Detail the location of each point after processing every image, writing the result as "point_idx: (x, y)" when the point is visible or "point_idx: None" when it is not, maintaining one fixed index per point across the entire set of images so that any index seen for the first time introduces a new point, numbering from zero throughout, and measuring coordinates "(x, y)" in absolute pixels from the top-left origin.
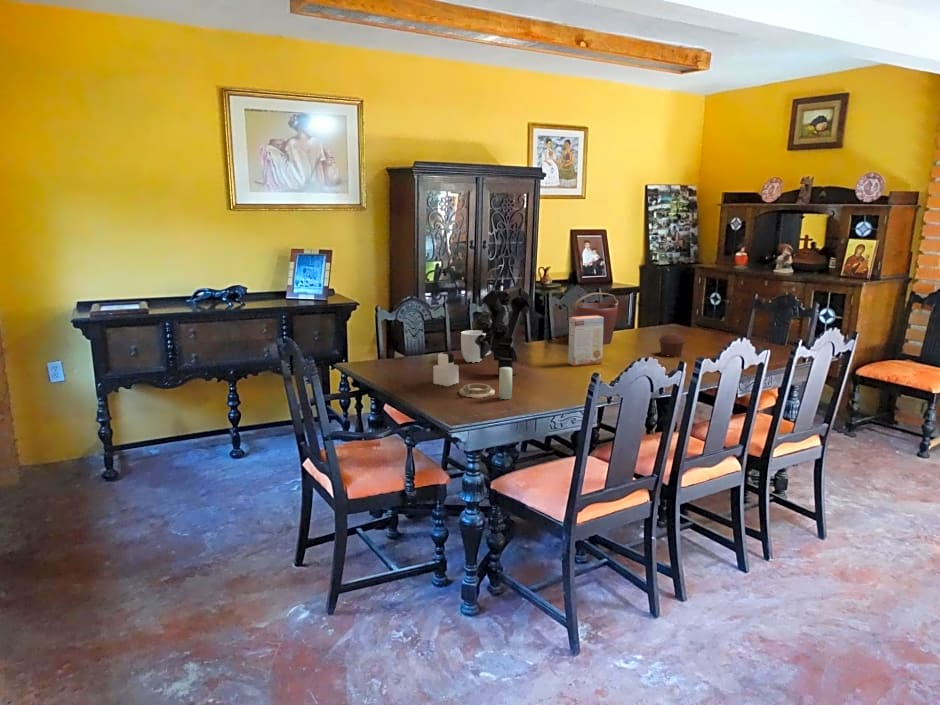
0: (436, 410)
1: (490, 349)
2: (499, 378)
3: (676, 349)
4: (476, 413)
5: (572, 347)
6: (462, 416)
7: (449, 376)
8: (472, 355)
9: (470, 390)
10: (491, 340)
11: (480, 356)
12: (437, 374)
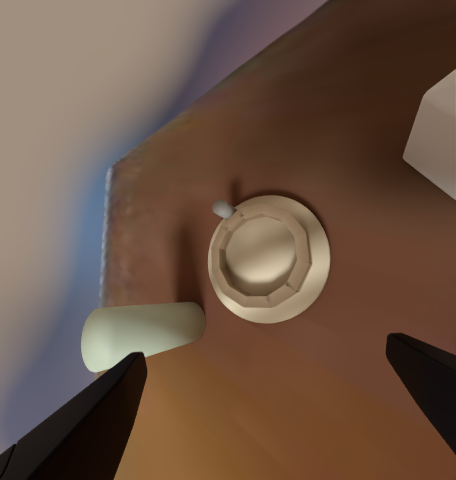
0: (172, 139)
1: (126, 356)
2: (142, 305)
3: None
4: (134, 213)
5: None
6: (133, 185)
7: (426, 143)
8: None
9: (226, 221)
10: (12, 468)
11: (402, 341)
12: None
